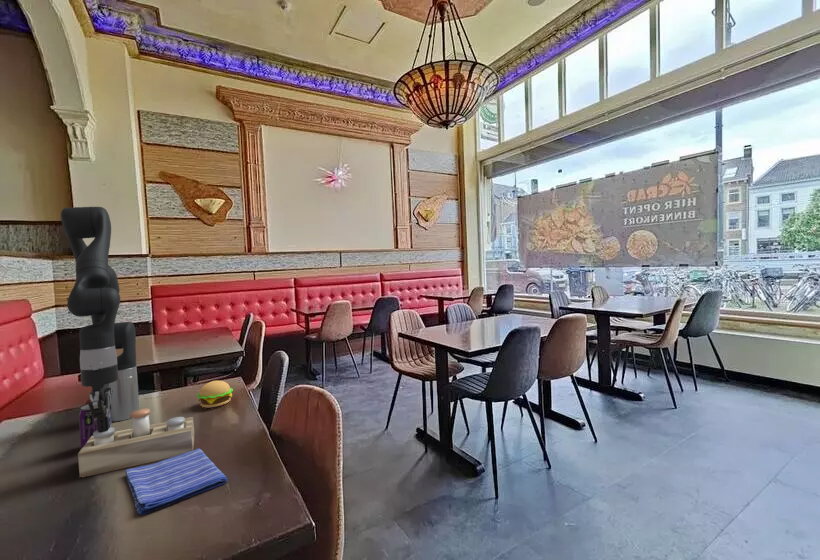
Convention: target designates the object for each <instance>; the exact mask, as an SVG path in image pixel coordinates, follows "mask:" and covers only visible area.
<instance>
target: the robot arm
mask: <svg viewBox="0 0 820 560" xmlns="http://www.w3.org/2000/svg"><path fill="white" fill-rule="evenodd" d="M60 219H61V224H62V227H63V229H64V234H65V237H66V238H67V241H68V244H69V246H70V249H71V251H72V254H73V257H74V260H75V283H74V285H73V287H72V289H71V291H70V293H69V296H68V298H67V302H66V304H67V310H68V311H69V312H70V313H71V315H74V316H75V317H89V316H90V318H91V323H92V324H89V325H84V326H82V327H81V328H80V329H79V333H78V334H79V349H80V351H79V352H80V353H79V367H80V369H79V370H80V380H81V381H80V382H81V386H83V387H84V388H85V387H86V388H88V387H91V392H89V400H90V401H89V402H88V404H89V407H90V410H91V413H92V415H93V418H96V419H97V429H98V432H105V431H108V429H109V428H110V426H109V414H110V412H111V422H119V421H125V420H129V419H131V418H130V413H131V412H133V411H135V410H139V409H140V398H139V397H140V396H139V383H138V372H137V370H138V369H137V368H138V367H137V345H136V344H137V342H136V340H137V339H136V338H137V336H136V327H135V324H134V323H133V322H131V321H123V322H122V321H121V322H116V317H117V314H118V311H119V307H120V304H121V296H120V290H121V289H120V284H119V280H118V277H117V273H116V271H115V270H114V269H113V267H112V266H110V265H109V254H110V253H109V252H110V248H111V246H110V245H111V238H112V223H111V218H110V215H109V213H108V211H107V209H106V208H104V207H102V206H77V207H76V206H73V207H64V208H63V209H61V211H60ZM93 238H94V239H93ZM84 239H93V240H92V241H91V242H90V243H89V244H88V245H87V244H86V243H85V241H84ZM117 350H122V353H121V354H119V355H117Z"/></svg>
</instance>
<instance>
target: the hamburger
mask: <svg viewBox="0 0 820 560" xmlns="http://www.w3.org/2000/svg"><path fill="white" fill-rule="evenodd" d="M233 391H234V389H233V388H232V387H231V386H230V385H229V383H227V382H225V381H222V380H212V381H210V382H207V383H205V384H204V385H202V387H200V390H199V392H198V393H197V395H196V397H197V399H198V401H199V402H200V404H199V405H200V407H201V406H202V407H201V408H203V407H215V406H220V405H223V404H226V403H228V402H229V401H230V402H231V398H232V397H233V393H232V392H233ZM230 402H229V403H230ZM229 403H228V404H229Z"/></svg>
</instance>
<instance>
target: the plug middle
mask: <svg viewBox="0 0 820 560" xmlns="http://www.w3.org/2000/svg"><path fill="white" fill-rule="evenodd" d="M150 414H151V409H150V408H139V410H135V411H133V412H131V413H130V419H131V425H132V427H131V429H132V430H133V438H136V437H141V436H146V435H150V425H151V424H150Z"/></svg>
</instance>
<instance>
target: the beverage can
mask: <svg viewBox="0 0 820 560" xmlns="http://www.w3.org/2000/svg"><path fill="white" fill-rule="evenodd" d="M78 421H79V424H78V425H79V434H80V436H79V437H80V450H81V449H82V448H83V447H84V445H85V444H86V443H87V441H88V440H89V439H90V438H91V436H93V433H94V432H95V431H97V430H98V429H97V419H96V418H93V415H92V413H91V410H90V407H89V403H88V404H86V405H83V406H81V407H80V412H79V414H78ZM109 426H110V428H111V427H112V421H111V412H110V414H109ZM112 428H113V427H112Z"/></svg>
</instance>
